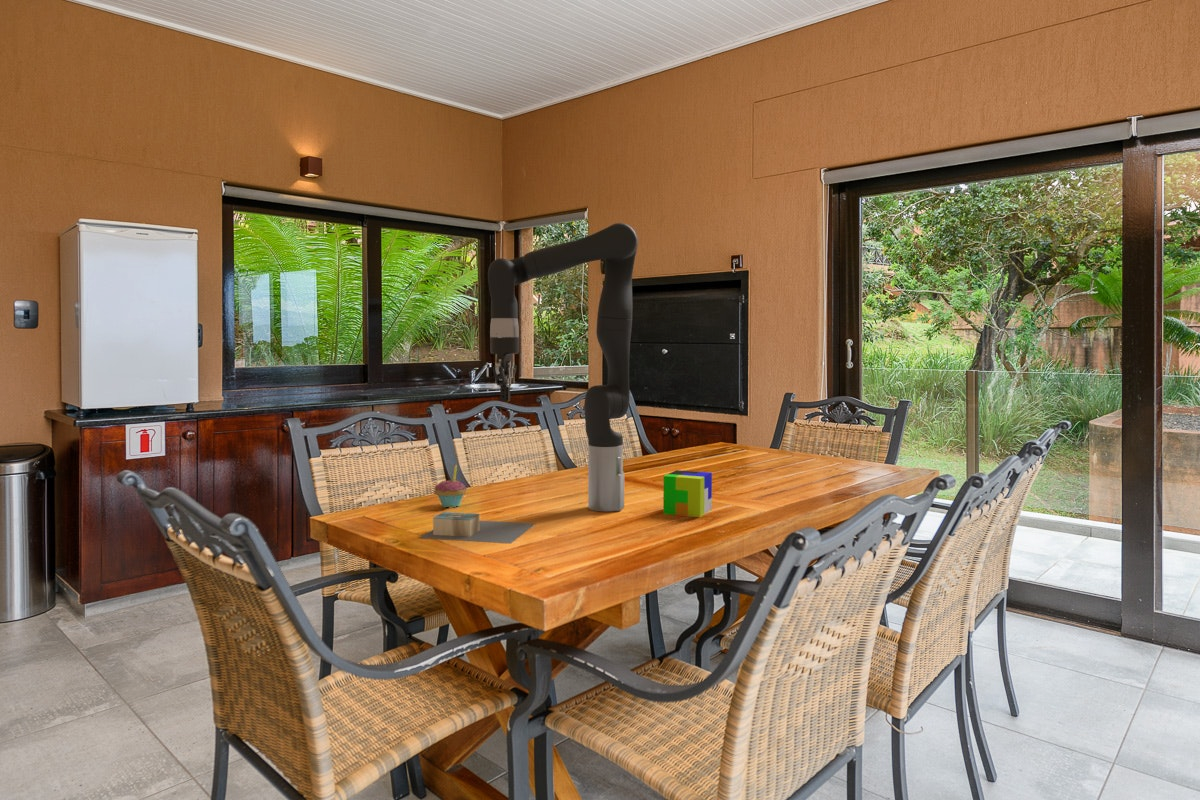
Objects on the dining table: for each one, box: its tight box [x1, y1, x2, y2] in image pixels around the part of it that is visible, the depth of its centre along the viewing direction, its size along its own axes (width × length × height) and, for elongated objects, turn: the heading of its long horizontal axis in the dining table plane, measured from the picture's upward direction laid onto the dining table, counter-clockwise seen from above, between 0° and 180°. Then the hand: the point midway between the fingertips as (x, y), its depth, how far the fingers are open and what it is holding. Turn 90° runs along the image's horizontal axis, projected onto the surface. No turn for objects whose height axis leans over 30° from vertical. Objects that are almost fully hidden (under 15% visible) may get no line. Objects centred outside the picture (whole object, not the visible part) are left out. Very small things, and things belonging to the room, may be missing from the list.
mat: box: [418, 520, 537, 544], centre depth 181 cm, size 22×19×1 cm
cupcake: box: [433, 462, 468, 508], centre depth 209 cm, size 9×8×12 cm
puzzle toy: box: [662, 469, 713, 518], centre depth 202 cm, size 10×10×10 cm
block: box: [432, 511, 480, 537], centre depth 179 cm, size 6×4×9 cm
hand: (505, 401), depth 204 cm, fingers closed
